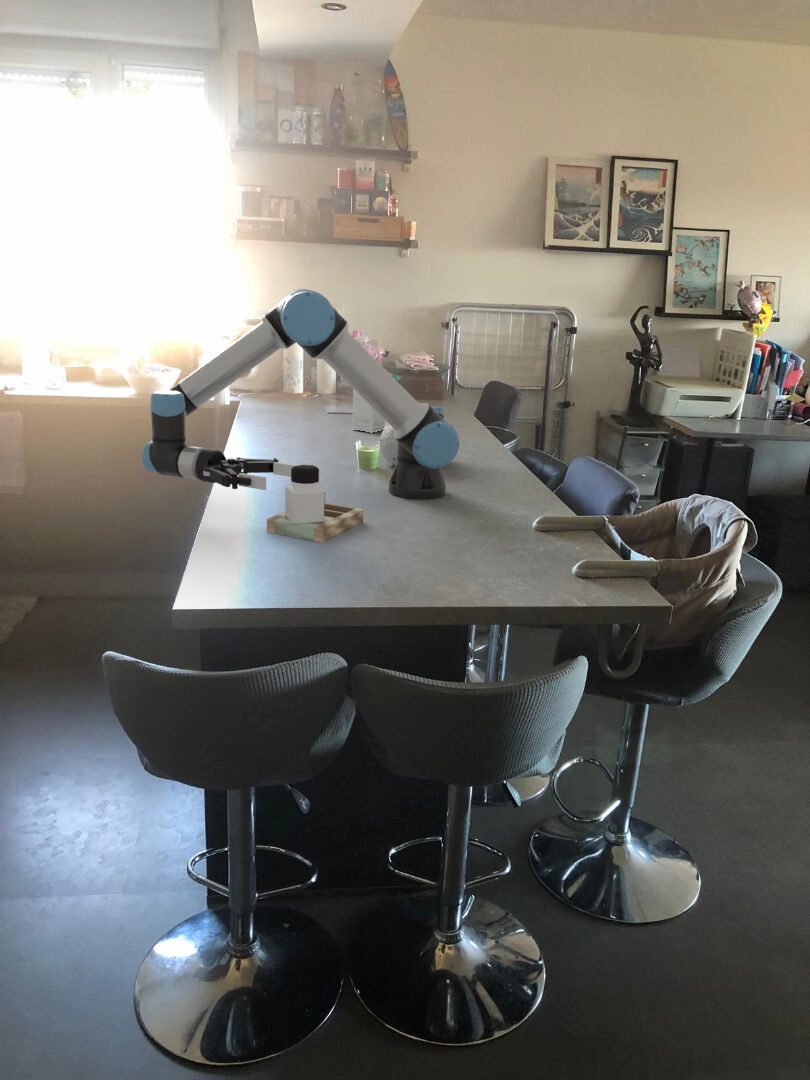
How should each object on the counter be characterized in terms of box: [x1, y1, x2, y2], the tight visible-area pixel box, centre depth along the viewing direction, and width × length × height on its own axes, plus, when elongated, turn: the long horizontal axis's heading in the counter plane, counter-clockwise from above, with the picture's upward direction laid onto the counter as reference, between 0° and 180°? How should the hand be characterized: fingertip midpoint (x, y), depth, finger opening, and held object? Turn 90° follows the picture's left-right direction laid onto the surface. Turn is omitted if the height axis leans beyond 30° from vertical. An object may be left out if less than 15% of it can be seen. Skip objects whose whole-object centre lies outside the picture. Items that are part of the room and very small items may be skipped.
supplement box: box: [352, 389, 385, 431], centre depth 313 cm, size 9×9×15 cm
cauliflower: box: [378, 420, 398, 466], centre depth 264 cm, size 20×25×22 cm
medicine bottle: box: [284, 463, 326, 524], centre depth 190 cm, size 7×7×12 cm
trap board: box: [266, 502, 364, 543], centre depth 196 cm, size 19×14×3 cm
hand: (282, 477), depth 191 cm, fingers open, 13 cm apart
